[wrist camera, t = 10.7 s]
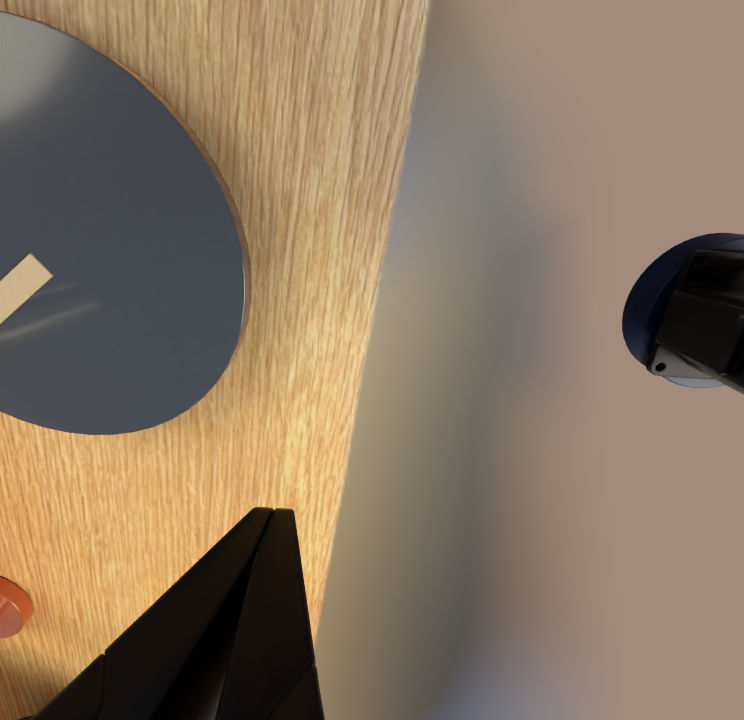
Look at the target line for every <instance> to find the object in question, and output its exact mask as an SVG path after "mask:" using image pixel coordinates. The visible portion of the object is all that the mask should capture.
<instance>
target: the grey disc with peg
mask: <svg viewBox="0 0 744 720" xmlns="http://www.w3.org/2000/svg"><path fill="white" fill-rule="evenodd" d="M250 303H251V266H250V259H249V251H248V245H247V241H246V237H245V233H244V230H243V226H242V222H241V218H240V216H239V213H238V211H237V208H236V205H235V203H234V200H233V198H232V195H231V193H230V190H229V188H228V186H227V184H226V183H225V181H224V179H223V177H222V175H221V173H220V171H219V169H218V167H217V165H216V163H215V162H214V160H213V159H212V157H211V156H210V154H209V153H208V151H207V150H206V148H205V147H204V145H203V144H202V142H201V141H200V139H199V138H198V137H197V135H196V134H195V133H194V131H193V130H192V129H191V128H190V127H189V126H188V124H187V123H186V122H185V121H184V120H183V118H182V117H181V116H180V115H179V114H178V112H177V111H176V110H175V109H174V108H173V107H172V106H171V105H170V104H169V103H168V102H167V101H166V100H165V99H164V98H163V97H162V96H160V95H159V94H158V93H157V92H156V91H155V90H154V89H153V88H152V87H151V86H150V85H149V84H148V83H146V82H145V81H144V80H142V79H141V78H140V77H138V76H137V75H136V74H135V73H133V72H132V71H131V70H129V69H128V68H127V67H125V66H124V65H123V64H122V63H120V62H118V61H117V60H115V59H113V58H112V57H110V56H108V55H106V54H105V53H103V52H101V51H100V50H98V49H96V48H95V47H93V46H91V45H90V44H88V43H86V42H84V41H82V40H80V39H78V38H77V37H75V36H72V35H70V34H68V33H66V32H63V31H61V30H59V29H56V28H54V27H52V26H50V25H47V24H45V23H43V22H40V21H37V20H33V19H30V18H26V17H23V16H19V15H16V14H13V13H9V12H4V11H0V412H3V413H5V414H8V415H10V416H13V417H15V418H17V419H20V420H22V421H25V422H29V423H32V424H35V425H38V426H42V427H45V428H49V429H54V430H59V431H64V432H69V433H78V434H88V435H114V434H122V433H130V432H135V431H139V430H143V429H147V428H151V427H154V426H157V425H159V424H162V423H164V422H167V421H169V420H172V419H173V418H175V417H177V416H179V415H180V414H182V413H184V412H185V411H187V410H189V409H190V408H191V407H192V406H194V405H195V404H196V403H197V402H199V401H200V400H201V399H202V398H204V397H205V395H206V394H207V393H208V392H209V391H210V390H211V389H212V388H213V387H214V385H215V384H216V383H217V382H218V381H219V380H220V379H221V378H222V376H223V375H224V374H225V372H226V371H227V369H228V368H229V366H230V365H231V363H232V361H233V360H234V358H235V356H236V354H237V351H238V349H239V347H240V345H241V343H242V340H243V337H244V333H245V330H246V326H247V323H248V319H249V311H250Z"/></svg>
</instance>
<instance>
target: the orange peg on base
mask: <svg viewBox="0 0 744 720" xmlns="http://www.w3.org/2000/svg"><path fill="white" fill-rule="evenodd" d="M32 614H33V605H32V602H31V600H30V598H29V597H28V595H27V594H26V593H25V592H24V591H23V590H22V589H21V588H19V587H18V586H17V585H15V584H14V583H12V582H10V581H8V580H6V579H4V578H2V577H0V638H7V637H11V636H13V635H15V634H17V633H18V632H19V631H20V630H21V629H22V628H23V627H24V626H25V624H26V623H27V622H28V621H29V620H30V618H31V617H32Z"/></svg>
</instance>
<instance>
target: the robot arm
mask: <svg viewBox="0 0 744 720" xmlns="http://www.w3.org/2000/svg"><path fill="white" fill-rule="evenodd" d="M699 257H700V261H699V263H698V264H697V265H695V261H696V260H697V258H699ZM659 363H660V366H659V367H657V368H656V366H657V364H659ZM646 369H647V370H648V371H649V372H650V373H652V374H653V375H657V376H671V377H687V378H703V379H716V380H718V381H719V382H721V383H723V384H725V385H727V386H729V387H731V388H733V389H734V390H736V391H738V392H740V393H742V394H744V253H740V252H724V251H708V250H694V251H692V252H690V253H689V254H688V255H687V256H686V258H685V259H684V262H683V265H682V268H681V270H680V273H679V276H678V278H677V281H676V284H675V287H674V289H673V292H672V295H671V297H670V300H669V303H668V305H667V308H666V311H665V314H664V316H663V319H662V322H661V325H660V327H659V330H658V333H657V335H656V338H655V341H654V344H653V347H652V349H651V352H650V355H649V358H648V360H647V363H646ZM30 720H325V718H324V712H323V706H322V701H321V695H320V689H319V681H318V674H317V668H316V666H315V655H314V648H313V641H312V634H311V627H310V620H309V613H308V606H307V599H306V592H305V585H304V578H303V571H302V564H301V557H300V550H299V543H298V536H297V529H296V522H295V515H294V511H293V509H285V508H276V509H275V510H274V509H273V508H268V507H255V508H253V509H252V510H251V511H250V512H249V513H248V514H247V515H246V516H245V517H243V518H242V519H241V520H240V521H239V522H238V523H237V524H236V525H235V526H234V527H233V528H232V529H231V530H230V531H229V532H228V533H227V534H226V535H225V536H224V537H223V538H222V539H221V540H219V541H218V542H217V543H216V544H215V545H214V546H213V547H212V548H211V549H210V550H209V551H208V552H207V553H206V554H205V555H204V556H203V557H202V558H201V559H200V560H199V561H198V562H196V563H195V564H194V565H193V566H192V567H191V568H190V569H189V570H188V571H187V572H186V573H185V574H184V575H183V576H182V577H181V578H180V579H179V580H178V581H177V582H176V583H175V584H174V585H172V586H171V587H170V588H169V589H168V590H167V591H166V592H165V593H164V594H163V595H162V596H161V597H160V598H159V599H158V600H157V601H156V602H155V603H154V604H153V605H152V606H151V607H150V608H148V609H147V610H146V611H145V612H144V613H143V614H142V615H141V616H140V617H139V618H138V619H137V620H136V621H135V622H134V623H133V624H132V625H131V626H130V627H129V628H128V629H127V630H125V631H124V632H123V633H122V634H121V635H120V636H119V637H118V638H117V639H116V640H115V641H114V642H113V643H112V644H111V645H110V646H109V647H108V648H107V649H106V650H105V655H104V654H100V655H99V656H98V657H97V658H96V659H95V660H94V661H93V662H92V663H91V664H90V665H89V666H88V667H87V668H86V669H84V670H83V671H82V672H81V673H80V674H79V675H78V676H77V677H76V678H75V679H74V680H73V681H72V682H71V683H70V684H69V685H67V686H66V687H65V688H64V689H63V690H62V691H61V692H60V693H59V694H58V695H57V696H56V697H54V698H53V699H52V700H51V701H50V702H49V703H48V704H47V705H46V706H45V707H44V708H43V709H41V710H40V711H39V712H38V713H37V714H36V715H35V716H34V717H32V718H31V719H30Z"/></svg>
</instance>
